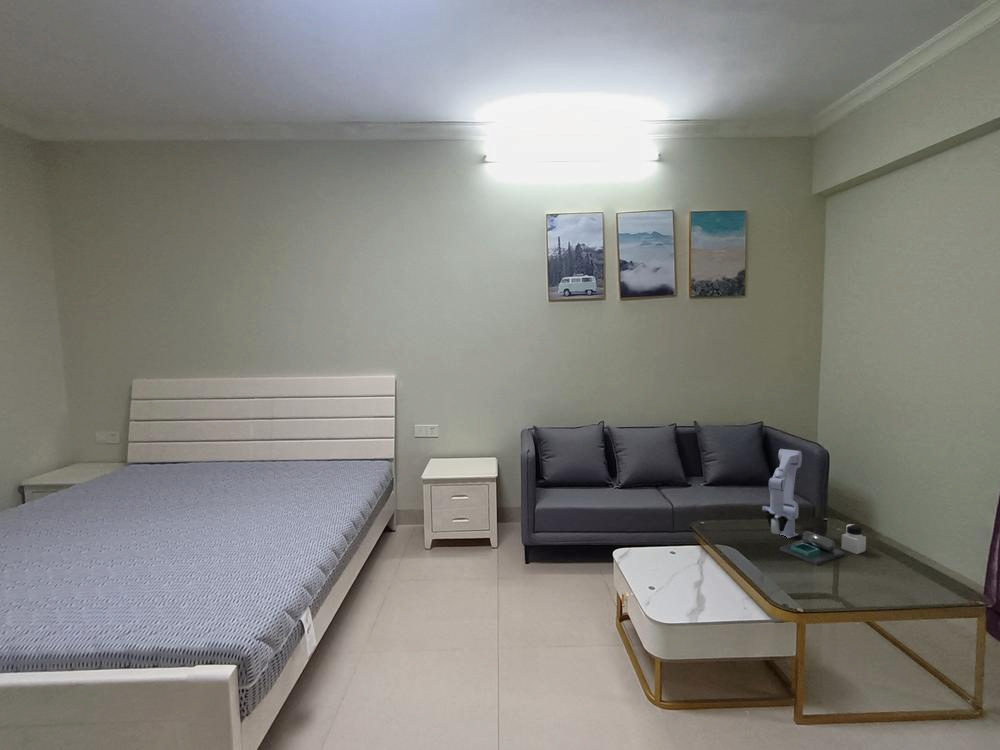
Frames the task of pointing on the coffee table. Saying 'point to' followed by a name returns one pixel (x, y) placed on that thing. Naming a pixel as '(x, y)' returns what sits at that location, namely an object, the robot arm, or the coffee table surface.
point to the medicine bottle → (854, 539)
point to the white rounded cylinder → (775, 526)
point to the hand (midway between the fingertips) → (776, 528)
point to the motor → (813, 548)
